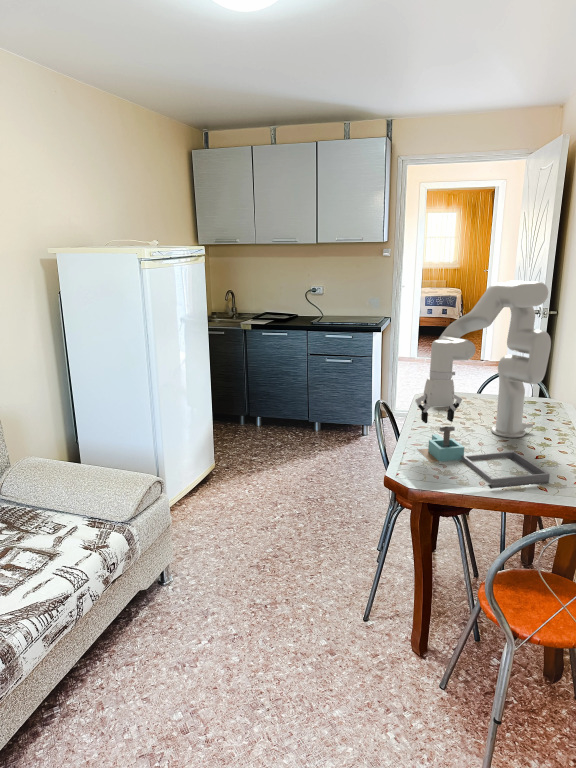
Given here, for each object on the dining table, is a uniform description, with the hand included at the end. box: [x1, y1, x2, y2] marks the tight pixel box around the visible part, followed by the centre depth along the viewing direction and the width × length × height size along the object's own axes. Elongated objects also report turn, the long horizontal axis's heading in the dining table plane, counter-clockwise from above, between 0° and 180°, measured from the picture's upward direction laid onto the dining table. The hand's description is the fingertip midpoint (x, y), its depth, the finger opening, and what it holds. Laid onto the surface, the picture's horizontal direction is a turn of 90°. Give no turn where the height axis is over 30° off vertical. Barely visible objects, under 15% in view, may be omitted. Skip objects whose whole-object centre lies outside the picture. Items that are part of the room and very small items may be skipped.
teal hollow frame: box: [427, 433, 465, 462], centre depth 187 cm, size 9×14×4 cm, turn 9°
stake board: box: [417, 426, 456, 463], centre depth 186 cm, size 12×12×12 cm
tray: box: [461, 450, 551, 489], centre depth 174 cm, size 20×20×3 cm
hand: (437, 421), depth 189 cm, fingers open, 9 cm apart
